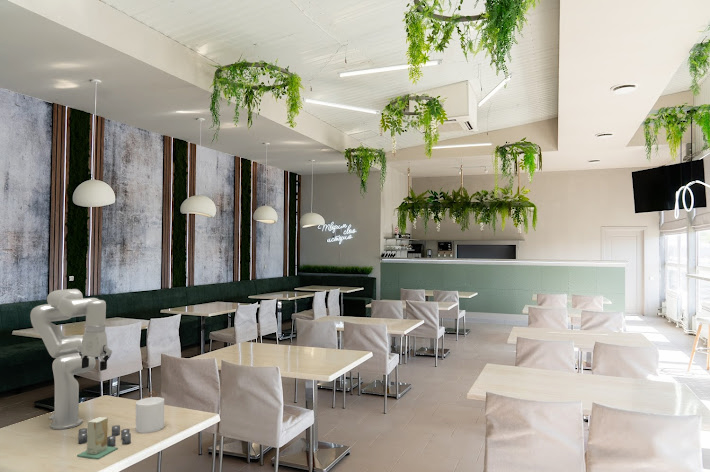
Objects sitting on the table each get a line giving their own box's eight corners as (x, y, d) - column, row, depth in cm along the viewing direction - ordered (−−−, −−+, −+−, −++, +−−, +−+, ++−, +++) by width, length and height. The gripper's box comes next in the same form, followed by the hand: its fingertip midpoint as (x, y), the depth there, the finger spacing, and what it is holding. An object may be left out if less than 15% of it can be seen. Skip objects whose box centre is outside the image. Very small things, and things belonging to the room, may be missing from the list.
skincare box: (96, 454, 188) (96, 422, 188) (86, 453, 189) (86, 421, 189) (108, 448, 194) (108, 417, 195) (98, 447, 195) (99, 416, 196)
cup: (143, 423, 224) (143, 397, 224) (168, 423, 224) (168, 397, 224) (130, 433, 212) (130, 405, 213) (157, 433, 212) (157, 405, 212)
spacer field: (63, 444, 200) (63, 436, 200) (94, 430, 215) (94, 422, 215) (115, 451, 193) (115, 442, 193) (143, 436, 208) (143, 427, 208)
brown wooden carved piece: (161, 414, 237) (161, 389, 237) (162, 416, 234) (163, 391, 234) (141, 417, 232) (141, 391, 233) (142, 419, 229) (143, 393, 229)
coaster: (76, 456, 188) (76, 455, 188) (97, 446, 198) (97, 445, 198) (98, 459, 185) (98, 457, 185) (117, 449, 195) (117, 447, 195)
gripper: (72, 328, 210) (71, 368, 210) (104, 332, 205) (103, 373, 205) (86, 326, 217) (85, 364, 217) (118, 329, 212) (117, 368, 212)
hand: (94, 368), depth 211 cm, fingers open, 9 cm apart
